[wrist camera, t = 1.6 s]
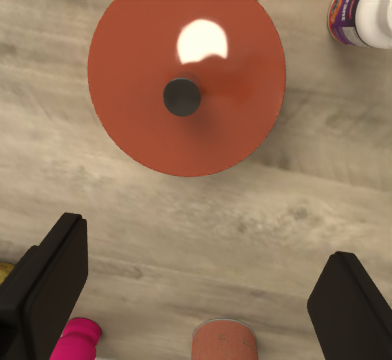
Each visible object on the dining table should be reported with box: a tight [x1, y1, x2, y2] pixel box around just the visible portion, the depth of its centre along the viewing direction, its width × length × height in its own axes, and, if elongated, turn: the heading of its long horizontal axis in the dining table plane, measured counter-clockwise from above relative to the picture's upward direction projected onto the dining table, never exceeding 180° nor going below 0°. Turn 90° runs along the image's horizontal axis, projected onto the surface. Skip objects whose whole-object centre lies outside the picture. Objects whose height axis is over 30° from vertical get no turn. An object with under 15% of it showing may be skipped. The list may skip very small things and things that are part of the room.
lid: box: [88, 0, 286, 177], centre depth 24 cm, size 18×18×5 cm
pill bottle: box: [327, 0, 392, 49], centre depth 23 cm, size 5×5×10 cm
